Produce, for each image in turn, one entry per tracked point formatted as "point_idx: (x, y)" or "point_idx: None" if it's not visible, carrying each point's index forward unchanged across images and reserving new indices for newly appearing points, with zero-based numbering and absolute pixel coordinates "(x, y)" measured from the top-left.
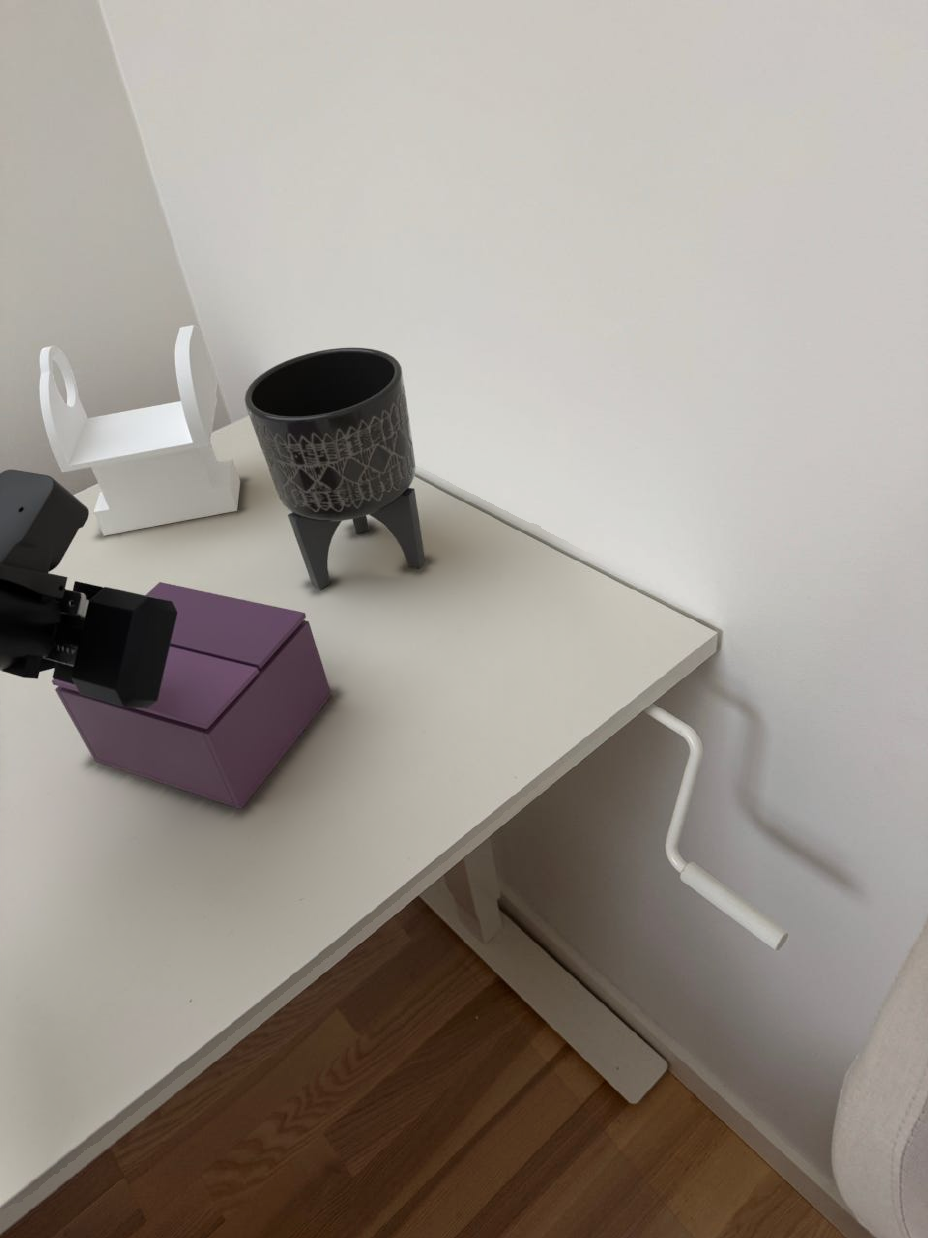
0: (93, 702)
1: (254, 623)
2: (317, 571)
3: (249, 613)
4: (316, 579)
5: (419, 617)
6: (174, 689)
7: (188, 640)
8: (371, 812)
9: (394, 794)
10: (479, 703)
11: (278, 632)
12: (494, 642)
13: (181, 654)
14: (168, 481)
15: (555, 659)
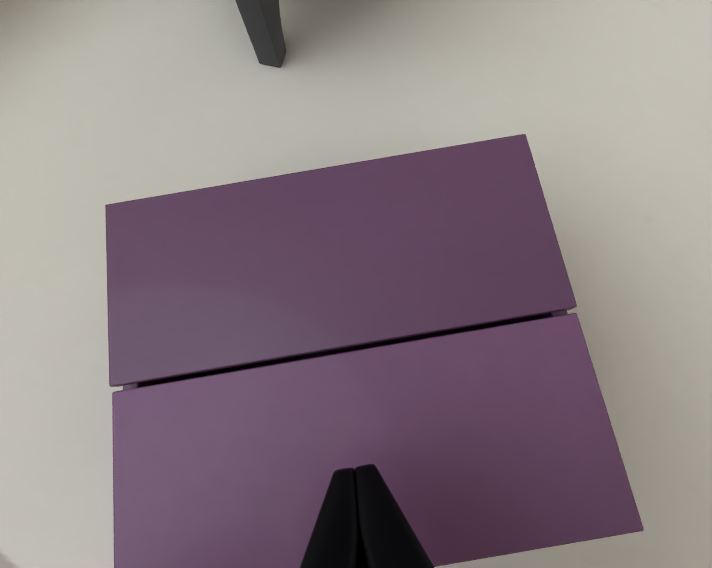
0: None
1: (447, 208)
2: (274, 37)
3: (409, 189)
4: (275, 52)
5: (466, 49)
6: (459, 471)
7: (347, 324)
8: (707, 376)
9: (707, 332)
10: (674, 142)
11: (524, 205)
12: (601, 43)
13: (366, 366)
14: None
15: (699, 34)
